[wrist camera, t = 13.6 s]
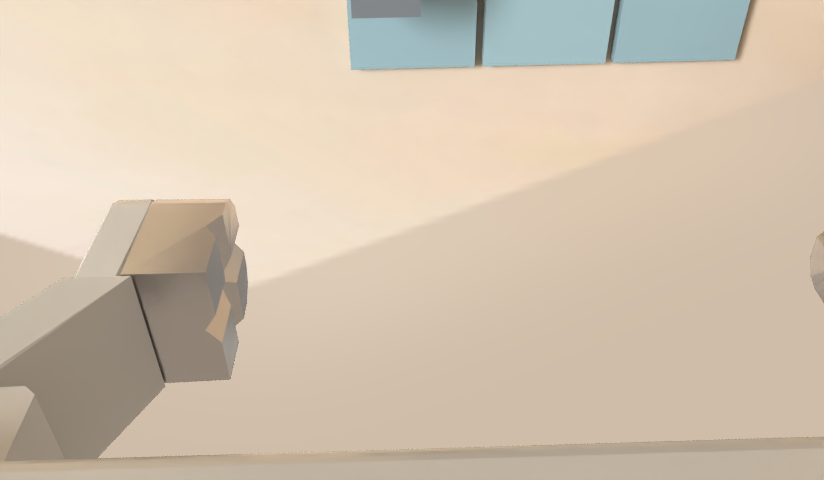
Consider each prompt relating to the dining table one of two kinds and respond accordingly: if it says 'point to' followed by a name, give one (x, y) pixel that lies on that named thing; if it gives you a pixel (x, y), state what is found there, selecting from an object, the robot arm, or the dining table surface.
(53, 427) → the robot arm
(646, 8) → the blue grooved panel
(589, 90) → the dining table surface
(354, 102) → the dining table surface
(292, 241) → the dining table surface
